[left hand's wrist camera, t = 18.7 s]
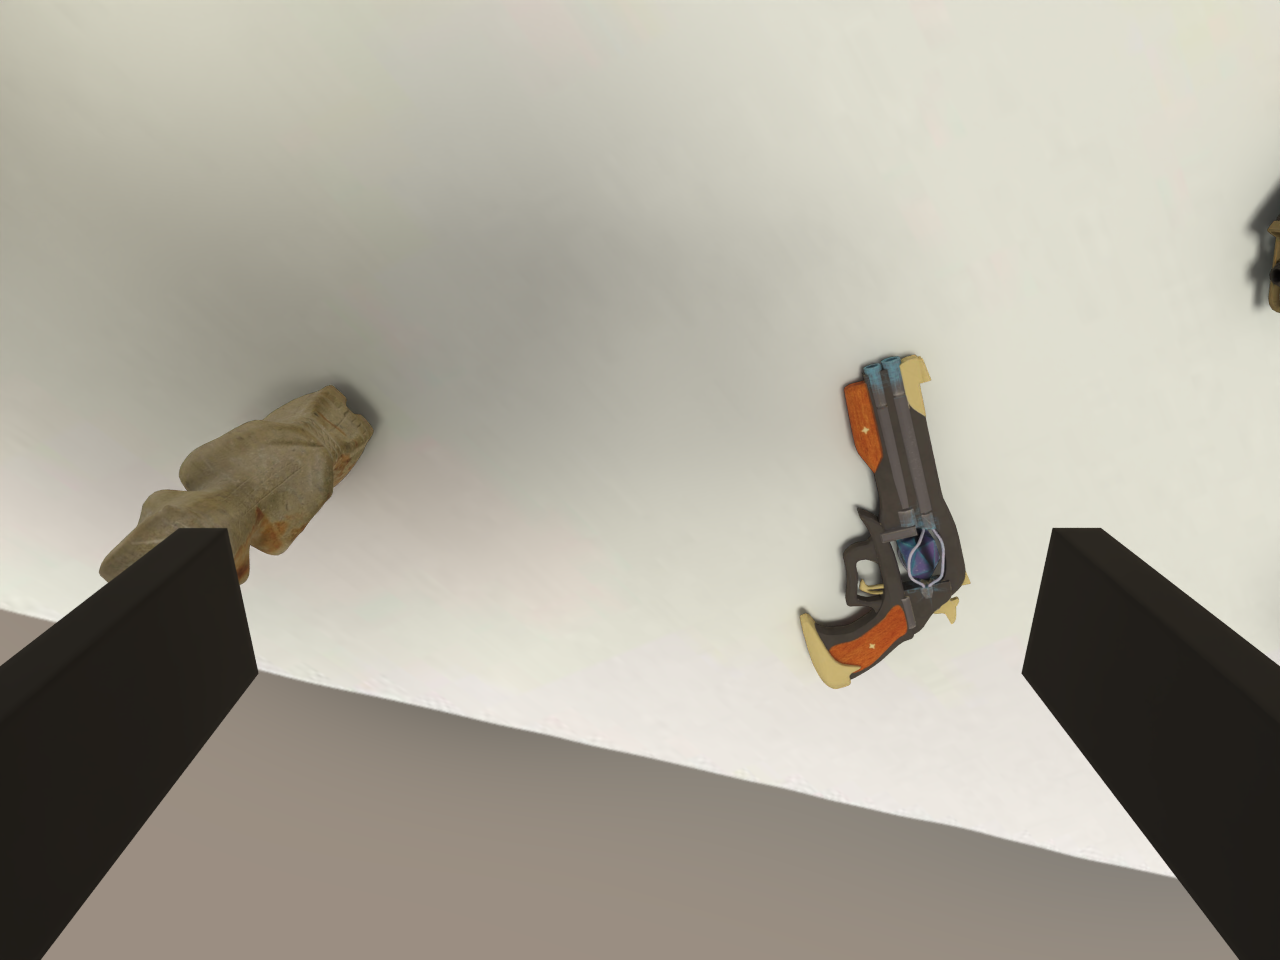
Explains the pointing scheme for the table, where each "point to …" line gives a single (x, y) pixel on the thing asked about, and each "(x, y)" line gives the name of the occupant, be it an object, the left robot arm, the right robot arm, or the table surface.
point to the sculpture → (255, 481)
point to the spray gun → (1275, 268)
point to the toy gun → (892, 527)
